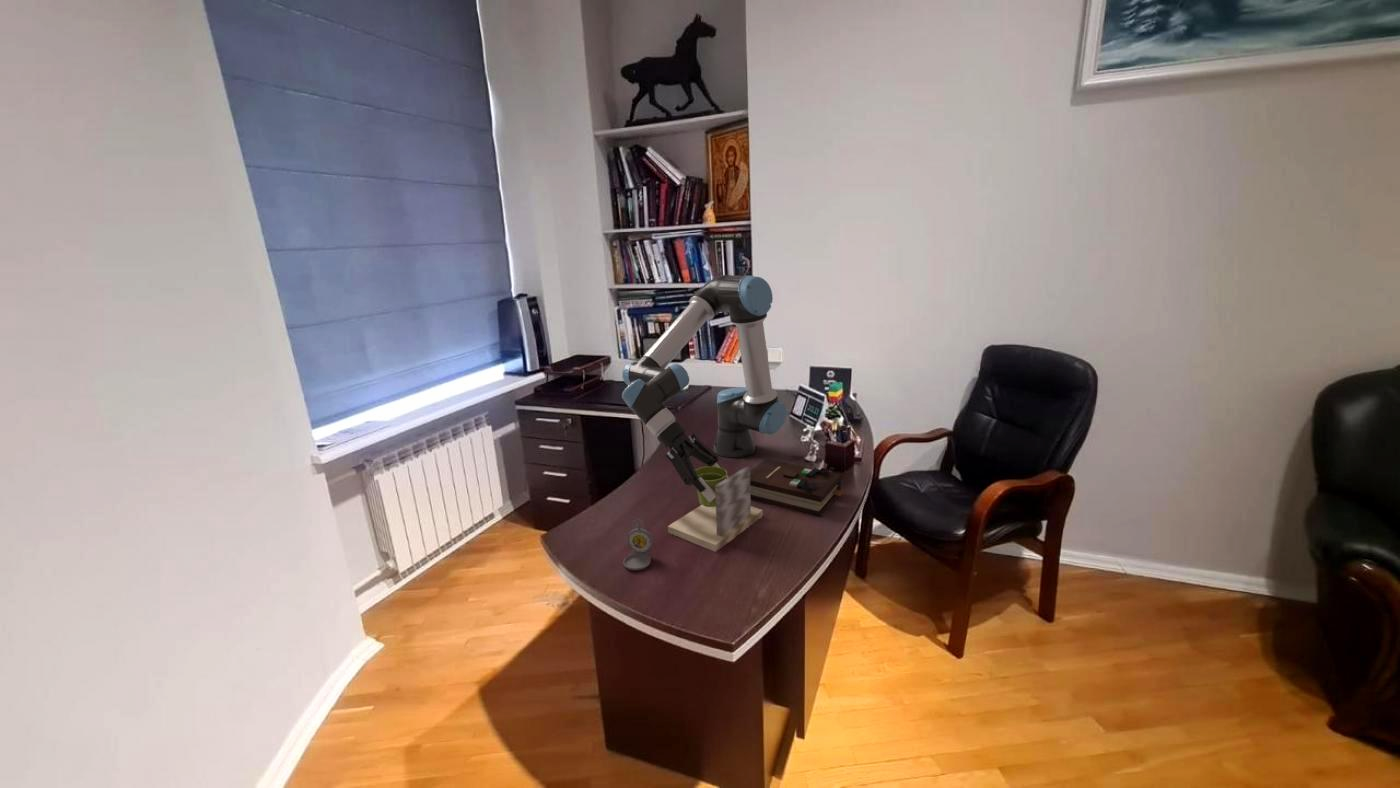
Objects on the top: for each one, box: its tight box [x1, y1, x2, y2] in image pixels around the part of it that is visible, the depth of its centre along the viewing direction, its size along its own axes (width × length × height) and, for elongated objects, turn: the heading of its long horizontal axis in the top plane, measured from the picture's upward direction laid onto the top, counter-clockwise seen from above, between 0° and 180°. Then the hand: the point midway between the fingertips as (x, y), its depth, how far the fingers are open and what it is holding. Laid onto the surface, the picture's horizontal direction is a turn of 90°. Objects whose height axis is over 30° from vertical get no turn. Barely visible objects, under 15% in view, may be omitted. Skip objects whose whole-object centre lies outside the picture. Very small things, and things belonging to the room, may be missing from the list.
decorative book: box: [750, 458, 846, 518], centre depth 164 cm, size 19×8×30 cm
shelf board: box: [667, 466, 764, 553], centre depth 147 cm, size 22×16×16 cm
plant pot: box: [695, 465, 728, 507], centre depth 147 cm, size 9×9×9 cm
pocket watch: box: [622, 519, 654, 571], centre depth 133 cm, size 8×8×10 cm
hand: (721, 491), depth 146 cm, fingers closed on plant pot, 9 cm apart
